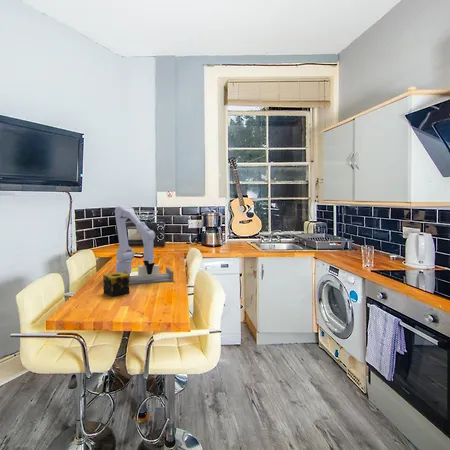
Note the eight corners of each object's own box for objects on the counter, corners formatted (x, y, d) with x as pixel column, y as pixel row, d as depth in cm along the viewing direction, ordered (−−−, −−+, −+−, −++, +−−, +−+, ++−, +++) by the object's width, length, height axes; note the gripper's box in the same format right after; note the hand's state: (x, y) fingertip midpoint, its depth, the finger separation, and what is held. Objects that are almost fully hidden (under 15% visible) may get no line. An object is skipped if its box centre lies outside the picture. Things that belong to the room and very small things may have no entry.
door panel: (138, 279, 200) (138, 266, 199) (138, 279, 202) (138, 266, 201) (158, 278, 204) (158, 265, 204) (158, 277, 206) (158, 264, 206)
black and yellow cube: (120, 289, 184) (120, 271, 183) (130, 293, 176) (130, 274, 176) (102, 293, 177) (102, 274, 176) (111, 297, 169) (111, 278, 168)
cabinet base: (126, 285, 192) (126, 274, 191) (124, 279, 205) (124, 269, 204) (173, 281, 202) (173, 271, 201) (168, 276, 215) (168, 266, 214)
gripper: (157, 252, 196) (157, 275, 198) (153, 248, 210) (153, 270, 211) (145, 253, 194) (145, 276, 195) (141, 249, 207) (141, 270, 208)
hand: (148, 273), depth 203 cm, fingers open, 5 cm apart
